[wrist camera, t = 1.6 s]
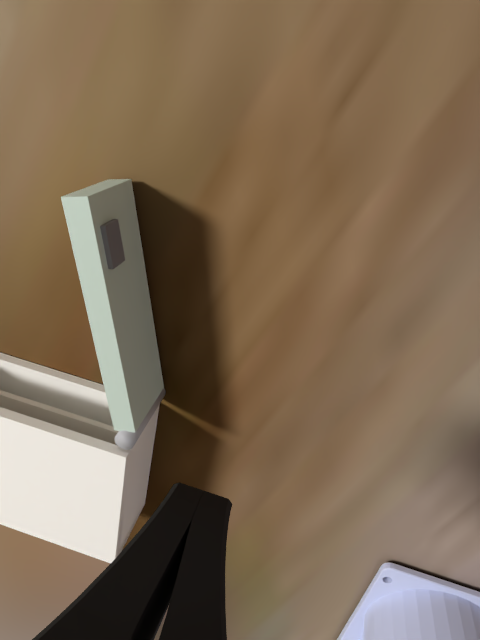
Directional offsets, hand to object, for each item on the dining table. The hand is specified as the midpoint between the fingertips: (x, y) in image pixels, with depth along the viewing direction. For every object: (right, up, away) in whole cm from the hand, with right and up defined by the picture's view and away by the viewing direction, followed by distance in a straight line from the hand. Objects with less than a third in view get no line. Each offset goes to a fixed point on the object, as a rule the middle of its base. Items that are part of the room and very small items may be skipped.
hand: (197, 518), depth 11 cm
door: (-3, +6, +10) cm, 12 cm away
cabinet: (-9, -1, +15) cm, 18 cm away
